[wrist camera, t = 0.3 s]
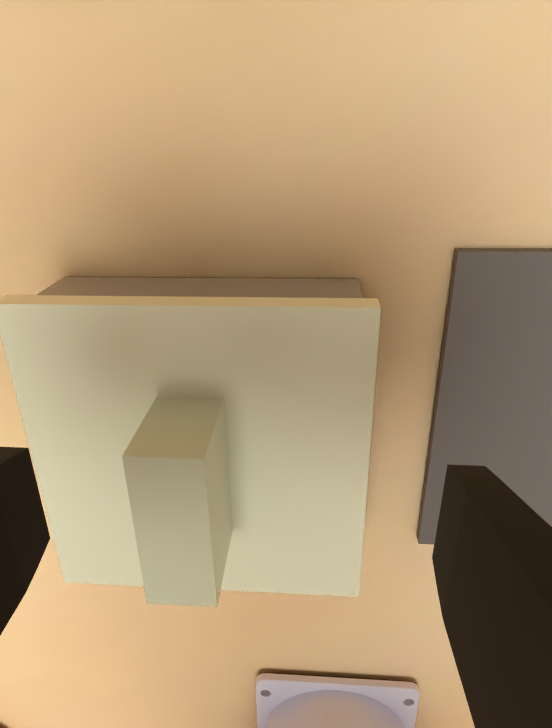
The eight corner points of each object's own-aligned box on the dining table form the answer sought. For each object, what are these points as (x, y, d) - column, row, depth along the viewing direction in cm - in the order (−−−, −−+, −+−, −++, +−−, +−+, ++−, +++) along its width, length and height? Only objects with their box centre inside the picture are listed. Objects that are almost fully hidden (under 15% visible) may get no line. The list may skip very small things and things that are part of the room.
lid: (356, 569, 19) (366, 681, 15) (78, 557, 20) (21, 660, 16) (376, 293, 15) (396, 354, 11) (15, 290, 15) (-84, 347, 12)
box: (345, 515, 21) (349, 572, 19) (109, 505, 22) (79, 560, 19) (358, 278, 17) (366, 308, 14) (65, 276, 18) (20, 304, 15)
